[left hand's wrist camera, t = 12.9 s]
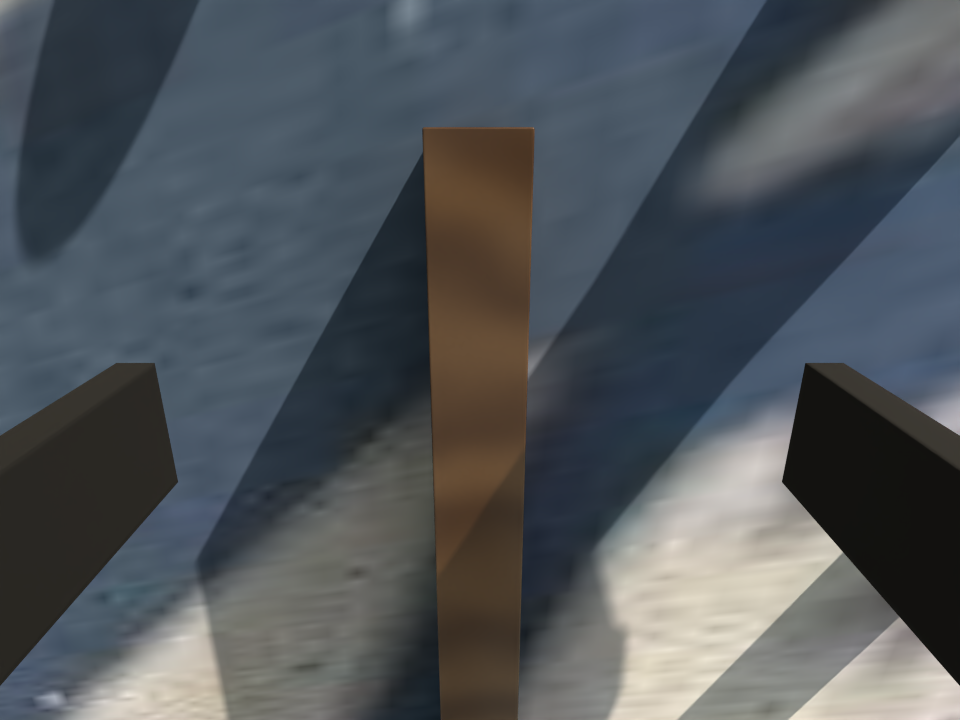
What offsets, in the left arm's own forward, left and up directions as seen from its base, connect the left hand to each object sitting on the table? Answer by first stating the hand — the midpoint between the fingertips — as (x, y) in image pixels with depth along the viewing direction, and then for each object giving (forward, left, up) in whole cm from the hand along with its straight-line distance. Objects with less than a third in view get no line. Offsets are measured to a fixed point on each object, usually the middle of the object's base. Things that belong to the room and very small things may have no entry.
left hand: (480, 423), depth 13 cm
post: (+7, +22, -26) cm, 34 cm away
